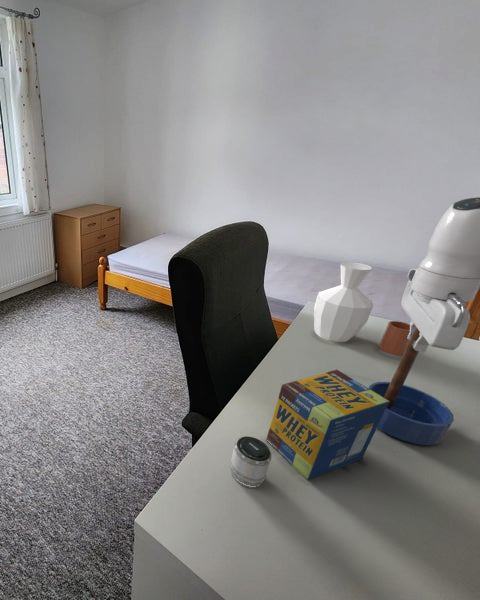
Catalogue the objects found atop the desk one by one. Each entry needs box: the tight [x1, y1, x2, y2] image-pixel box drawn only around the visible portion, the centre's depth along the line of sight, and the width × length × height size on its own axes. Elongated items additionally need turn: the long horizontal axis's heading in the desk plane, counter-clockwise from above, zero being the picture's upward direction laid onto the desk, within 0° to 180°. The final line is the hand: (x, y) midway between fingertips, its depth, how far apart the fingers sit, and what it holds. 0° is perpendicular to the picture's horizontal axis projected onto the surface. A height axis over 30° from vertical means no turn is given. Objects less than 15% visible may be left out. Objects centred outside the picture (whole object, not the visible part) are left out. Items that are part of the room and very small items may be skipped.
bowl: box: [367, 381, 455, 446], centre depth 77 cm, size 14×14×6 cm
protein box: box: [265, 369, 390, 480], centre depth 68 cm, size 10×15×16 cm
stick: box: [384, 327, 420, 410], centre depth 74 cm, size 2×2×22 cm
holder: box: [378, 320, 410, 356], centre depth 102 cm, size 6×6×9 cm
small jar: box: [230, 436, 272, 489], centre depth 65 cm, size 6×6×8 cm
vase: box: [313, 261, 374, 343], centre depth 107 cm, size 14×14×25 cm
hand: (415, 345), depth 71 cm, fingers closed on stick, 2 cm apart
